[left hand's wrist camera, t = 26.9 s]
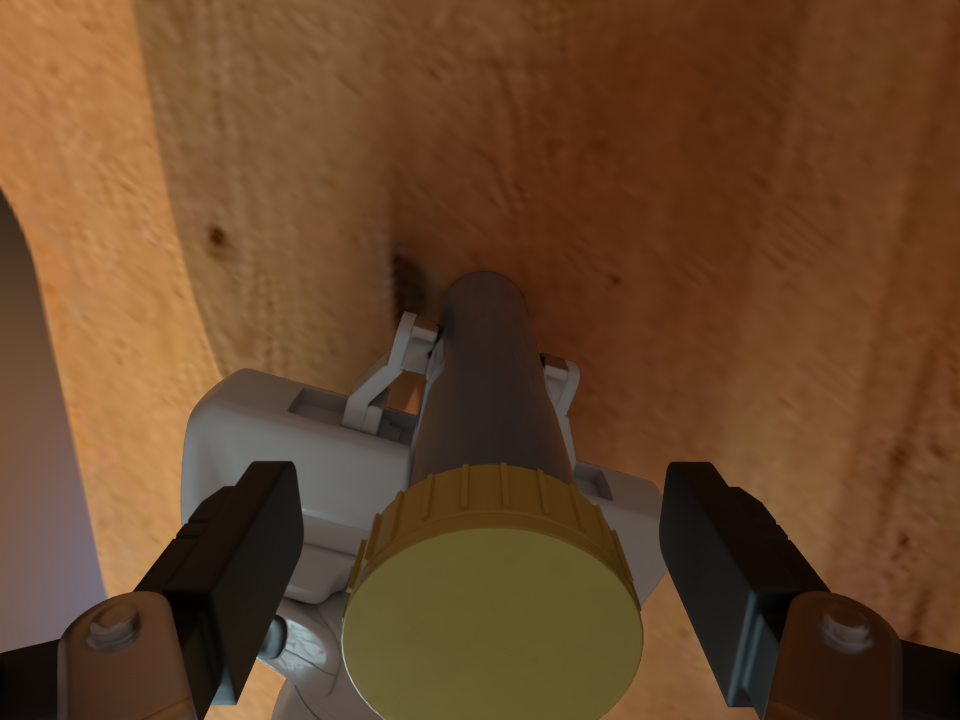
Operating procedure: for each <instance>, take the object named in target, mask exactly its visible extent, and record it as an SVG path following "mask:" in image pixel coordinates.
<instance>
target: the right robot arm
mask: <svg viewBox="0 0 960 720" xmlns="http://www.w3.org/2000/svg"><path fill="white" fill-rule="evenodd" d="M439 326H440V322H438V321H435V320H431V319H428V318H425V317H422V316H419V315H416V314H414V313H409V312H405V311H404V313H403V316H402V318H401V321H400V324H399V327H398V330H397V333H396V337H395V340H394V344H393V347H392V349H390V350H389V351H388V352H387V353H385V354H384V355H383V356H382V357H381V358H380V359H379V360H378V361H377V362H375V363H374V364H373V365H372V366H371V367H370V368H369V369H368V370H367V371H365V372H364V373H363V374H362V375H361V376H360V377H359V378H358V380H357V382H356V384H355V386H354V388H353V390H352V392H351V394H350V396H346V395H342V394H338V393H335V392H331V391H328V390H324V389H321V388H317V387H313V386H310V385H306V384H303V383H299V382H296V381H292V380H288V379H285V378H281V377H278V376H274V375H271V374H267V373H264V372H260V371H257V370H253V369H241V370H238V371H237V372H235V373H233V374H231V375H230V376H228V377H227V378H225V379H223V380H222V381H221V382H219V383H218V384H216V385H215V386H214V387H213V388H212V389H210V390H209V391H208V392H207V393H206V394H205V395H204V396H203V397H202V398H201V400H200V401H199V402H198V403H197V405H196V406H195V407H194V409H193V411H192V412H191V415H190V417H189V420H188V423H187V428H186V434H185V440H184V448H183V459H182V472H181V524H182V527H183V525H184V524H185V523H188V519H189V518H190V516H191V515H192V514H193V512H194V511H195V510H196V509H197V507H198V506H199V505H200V503H201V502H202V501H203V500H205V499H206V498H208V497H209V496H211V495H212V494H213V493H215V492H216V491H218V490H219V489H221V488H222V487H224V486H235V485H236V484H237V482H238V481H239V479H240V478H241V476H242V475H243V474H244V472H245V471H246V469H247V468H248V467H249V465H250V464H251V463H252V462H253V461H292V462H293V463H294V465H295V467H296V471H297V478H298V486H299V493H300V501H301V508H302V516H303V523H304V540H303V547H302V552H301V555H300V558H299V560H298V563H297V565H296V567H295V570H294V572H293V574H292V577H291V579H290V581H289V584H288V586H287V588H286V591H285V593H284V595H283V597H282V600H281V602H280V604H279V607H278V609H277V611H276V614H275V616H274V618H273V621H272V623H271V625H270V628H269V630H268V632H267V635H266V637H265V639H264V642H263V644H262V646H261V648H260V651H259V653H258V655H257V658H256V659H258V660H260V661H261V662H263V663H265V664H266V665H268V666H269V667H271V668H272V669H274V670H275V671H277V672H278V673H280V674H281V675H283V676H284V677H285V678H287V679H286V680H285V682H284V684H283V686H282V688H281V690H280V692H279V694H278V697H277V700H276V703H275V706H274V710H273V713H272V717H271V720H384V719H383V718H381V717H380V716H379V715H378V714H377V713H376V712H375V711H373V710H372V709H371V708H370V707H369V705H368V704H367V703H366V702H365V701H364V700H363V699H362V697H361V696H360V695H359V693H358V691H357V690H356V688H355V687H354V685H353V684H352V681H351V679H350V677H349V675H348V673H347V670H346V667H345V663H344V659H343V656H342V646H341V632H342V623H343V622H342V615H343V612H344V608H345V605H346V601H347V598H348V594H349V592H346V591H347V587H348V584H349V580H350V577H351V573H352V570H353V567H354V563H355V560H356V556H357V553H358V550H359V546H360V543H361V540H362V539H363V540H366V539H367V536H368V534H369V532H370V530H371V526H372V523H373V519H374V516H375V515H376V513H378V514H381V513H382V512H383V511H384V510H385V508H386V507H387V506H388V505H389V504H390V503H391V502H392V501H393V500H395V499H396V495H397V493H398V492H399V490H400V486H401V481H402V477H403V472H404V468H405V464H406V459H407V455H408V450H409V446H410V441H411V437H412V433H413V428H414V424H415V419H416V415H413V414H410V413H406V412H403V411H399V410H396V409H392V408H388V407H386V403H387V399H388V395H389V392H390V388H389V387H388V385H389V384H390V383H391V382H392V381H394V380H395V379H396V378H397V377H398V376H399V375H400V374H401V373H402V372H403V371H404V370H406V371H410V372H413V373H417V374H421V375H425V374H426V371H427V367H428V362H429V358H430V354H431V350H432V349H433V347H434V345H435V341H436V338H437V334H438V330H439ZM540 357H541V360H542V364H543V367H544V371H545V375H546V378H547V382H548V385H549V389H550V392H551V396H552V399H553V403H554V406H555V410H556V414H557V417H558V421H559V424H560V428H561V431H562V435H563V438H564V442H565V445H566V449H567V452H568V456H569V460H570V463H571V467H572V470H573V474H574V477H575V481H576V484H577V488H578V491H579V493H580V494H582V495H583V496H584V497H585V498H587V499H588V500H589V501H590V502H591V503H592V504H593V505H594V506H595V505H596V504H598V505H599V506H600V507H601V510H602V513H603V516H604V518H605V520H606V522H607V524H608V525H609V527H610V529H611V531H612V530H616V532H617V534H618V537H619V540H620V543H621V545H622V548H623V551H624V554H625V557H626V560H627V562H628V565H629V568H630V571H631V574H632V577H633V580H634V581H632V582H633V585H634V588H635V590H636V593H637V596H638V599H639V602H640V605H641V606H642V605H643V604H644V602H645V601H646V600H647V598H648V597H649V596H650V594H651V593H652V592H653V590H654V589H655V587H656V586H657V585H658V583H659V582H660V580H661V579H662V577H663V576H664V574H665V573H666V571H667V570H668V568H667V566H666V564H665V562H664V559H663V557H662V553H661V549H660V542H659V523H660V516H661V508H662V501H663V496H662V494H661V493H660V491H659V489H658V488H657V487H656V485H655V484H653V483H652V482H651V481H648V480H645V479H642V478H639V477H635V476H631V475H628V474H624V473H621V472H617V471H613V470H610V469H606V468H603V467H599V466H596V465H592V464H588V463H585V462H581V461H578V460H576V456H575V451H574V445H573V440H572V434H571V429H570V423H569V418H568V415H567V412H568V409H569V407H570V405H571V402H572V400H573V397H574V395H575V392H576V390H577V387H578V385H579V381H580V370H579V368H578V366H577V363H576V362H573V361H570V360H566V359H563V358H560V357H556V356H553V355H549V354H546V353H541V354H540Z"/></svg>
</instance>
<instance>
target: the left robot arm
mask: <svg viewBox="0 0 960 720" xmlns="http://www.w3.org/2000/svg"><path fill="white" fill-rule="evenodd" d="M303 540H304V523H303V516H302V508H301V501H300V493H299V486H298V478H297V471H296V467H295V465H294V463H293V462H292V461H253V462H252V463H251V464H250V465H249V467H248V468H247V469H246V471H245V472H244V474H243V475H242V476H241V478H240V479H239V481H238V482H237V484H236V485H235V486H224V487H222V488H221V489H219V490H218V491H216V492H215V493H213V494H212V495H211V496H209V497H208V498H206V499H205V500H203V501H202V502H201V503H200V505H199V506H198V507H197V509H196V510H195V511H194V512H193V514H192V515H191V516H190V518H189V519H188V523H185V524H184V525H183V527H182V528H181V529H180V531H179V532H178V533H177V535H176V539H173V540H172V541H171V542H170V544H169V545H168V546H167V548H166V549H165V550H164V551H163V553H162V554H161V555H160V557H159V558H158V559H157V561H156V562H155V563H154V564H153V566H152V567H151V568H150V570H149V571H148V572H147V574H146V575H145V576H144V577H143V579H142V580H141V581H140V583H139V584H138V585H137V587H136V588H135V589H134V590H133V592H130V593H125V594H121V595H118V596H115V597H112V598H110V599H107V600H105V601H103V602H101V603H99V604H97V605H95V606H93V607H92V608H90V609H88V610H87V611H86V612H84V613H83V614H81V615H80V616H79V617H78V618H77V619H76V620H74V621H73V622H72V623H71V625H70V626H69V627H68V628H67V629H66V630H65V632H64V633H63V635H62V637H61V639H57V640H54V641H49V642H45V643H41V644H37V645H33V646H28V647H24V648H20V649H16V650H12V651H8V652H3V653H0V720H204V718H205V715H206V713H207V711H208V709H209V707H210V705H236V704H237V702H238V699H239V697H240V695H241V692H242V690H243V688H244V686H245V683H246V681H247V679H248V676H249V674H250V672H251V669H252V667H253V665H254V662H255V660H256V658H257V655H258V653H259V651H260V648H261V646H262V644H263V642H264V639H265V637H266V635H267V632H268V630H269V628H270V625H271V623H272V621H273V618H274V616H275V614H276V611H277V609H278V607H279V604H280V602H281V600H282V597H283V595H284V593H285V591H286V588H287V586H288V584H289V581H290V579H291V577H292V574H293V572H294V570H295V567H296V565H297V563H298V560H299V558H300V555H301V552H302V547H303ZM659 542H660V549H661V553H662V557H663V559H664V562H665V564H666V566H667V568H668V571H669V573H670V575H671V578H672V580H673V582H674V584H675V587H676V589H677V591H678V594H679V596H680V598H681V600H682V603H683V605H684V607H685V610H686V612H687V614H688V617H689V619H690V621H691V623H692V626H693V628H694V630H695V633H696V635H697V637H698V639H699V642H700V644H701V646H702V649H703V651H704V653H705V655H706V658H707V660H708V662H709V665H710V667H711V669H712V671H713V674H714V676H715V678H716V681H717V683H718V685H719V687H720V690H721V692H722V694H723V697H724V699H725V701H726V703H727V706H728V707H754V708H755V710H756V712H757V714H758V716H759V718H760V720H960V654H958V653H954V652H949V651H945V650H941V649H937V648H933V647H928V646H924V645H920V644H916V643H912V642H908V641H904V640H901V639H899V637H898V635H897V633H896V632H895V630H894V629H893V628H892V627H891V626H890V624H889V623H888V622H887V621H886V620H884V619H883V618H882V617H881V616H880V615H879V614H877V613H876V612H875V611H873V610H872V609H870V608H868V607H867V606H865V605H863V604H861V603H859V602H857V601H855V600H853V599H850V598H848V597H845V596H842V595H839V594H835V593H831V591H830V590H829V589H828V587H827V586H826V585H825V584H824V582H823V581H822V580H821V578H820V577H819V576H818V574H817V573H816V572H815V571H814V569H813V568H812V567H811V565H810V564H809V563H808V562H807V560H806V559H805V558H804V556H803V555H802V554H801V553H800V551H799V550H798V549H797V547H796V546H795V545H794V544H793V542H792V541H791V540H788V536H787V535H786V533H785V532H784V531H783V529H782V528H781V527H780V526H779V525H776V520H775V519H774V518H773V517H772V515H771V514H770V513H769V511H768V510H767V509H766V508H765V506H764V505H763V504H762V502H760V501H759V500H757V499H756V498H754V497H753V496H751V495H750V494H748V493H747V492H746V491H744V490H743V489H741V488H740V487H728V485H727V484H726V482H725V481H724V480H723V478H722V477H721V475H720V474H719V473H718V471H717V470H716V468H715V467H714V466H713V465H712V463H710V462H671V463H670V464H669V466H668V468H667V472H666V479H665V486H664V494H663V501H662V508H661V516H660V523H659Z"/></svg>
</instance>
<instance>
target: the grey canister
mask: <svg viewBox="0 0 960 720" xmlns="http://www.w3.org/2000/svg"><path fill="white" fill-rule="evenodd" d="M438 322H440V326H439V330H438V334H437V338H436V341H435V345H434V347H433V349H432V350H431V354H430V358H429V362H428V367H427V371H426V375H425V380H424V384H423V389H422V393H421V397H420V402H419V406H418V411H417V415H416V419H415V424H414V428H413V433H412V437H411V441H410V446H409V450H408V455H407V459H406V464H405V468H404V472H403V477H402V481H401V486H400V490H401V491H402V492H404V491H406V490H407V489H409V488H410V487H412V486H413V485H415V484H417V483H418V482H420V481H423V480H425V479H427V475H429V474H431V473H432V474H433V475H436V474H439V473H442V472H445V471H448V470H451V469H456V468H461V467H463V465H464V464H469V466H474V465H484V464H490V465H500V464H501V462H502V463H507V465H509V466H517V467H523V468H527V469H531V470H535V471H537V470H538V469H540V470H543V473H544V474H546V475H549V476H552V477H554V478H556V479H558V480H560V481H562V482H564V483H565V484H567V485H570V484H571V483H572V484H573V485H575V486H576V490H577V491H578V488H577V484H576V481H575V477H574V474H573V470H572V467H571V463H570V460H569V456H568V452H567V449H566V445H565V442H564V438H563V435H562V431H561V428H560V424H559V421H558V417H557V414H556V410H555V406H554V403H553V399H552V396H551V392H550V389H549V385H548V382H547V378H546V375H545V371H544V367H543V364H542V360H541V357H540V353H539V350H538V346H537V343H536V339H535V336H534V332H533V328H532V325H531V321H530V318H529V314H528V311H527V307H526V304H525V300H524V298H523V295H522V293H521V292H520V290H519V289H518V287H517V286H516V285H515V284H514V283H513V282H512V281H510V280H509V279H508V278H506V277H504V276H502V275H500V274H497V273H494V272H487V271H481V272H474V273H470V274H467V275H465V276H463V277H461V278H460V279H458V280H457V281H456V282H454V283H453V284H452V285H451V287H450V288H449V289H448V290H447V292H446V294H445V296H444V298H443V301H442V305H441V309H440V314H439V318H438ZM400 490H399V491H400ZM578 492H579V491H578Z"/></svg>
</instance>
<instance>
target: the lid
mask: <svg viewBox="0 0 960 720" xmlns="http://www.w3.org/2000/svg"><path fill="white" fill-rule="evenodd" d="M632 581H634V580H633V577H632V574H631V571H630V568H629V565H628V562H627V560H626V557H625V554H624V551H623V548H622V545H621V543H620V540H619V537H618V534H617V532H616V530H612V531H611V529H610V527H609V525H608V524H607V522H606V520H605V518H604V516H603V513H602V510H601V507H600V506H599V505H598V504H596V505H595V506H594V505H593V504H592V503H591V502H590V501H589V500H588V499H587V498H585V497H584V496H583V495H582V494H580V493H579V492H578V491H577V490H576V486H575V485H573V484H572V483H571V484H570V485H567V484H565V483H564V482H562V481H560V480H558V479H556V478H554V477H552V476H549V475H546V474H544V473H543V470H540V469H538V470H537V471H535V470H531V469H527V468H523V467H517V466H509V465H507V463H502V462H501V464H500V465H490V464H484V465H474V466H469V464H464V465H463V467H461V468H456V469H451V470H448V471H445V472H442V473H439V474H436V475H433V474H432V473H431V474H429V475H427V479H425V480H423V481H420V482H418V483H417V484H415V485H413V486H412V487H410V488H409V489H407V490H406V491H404V492H402V491H401V490H400V491H399V492H398V493H397V495H396V499H395V500H393V501H392V502H391V503H390V504H389V505H388V506H387V507H386V508H385V510H384V511H383V512H382V513H381V514H378V513H376V515H375V516H374V519H373V523H372V526H371V530H370V532H369V534H368V536H367V539H366V540H363V539H362V540H361V543H360V546H359V550H358V553H357V556H356V560H355V563H354V567H353V570H352V573H351V577H350V580H349V584H348V587H347V591H346V592H349V594H348V598H347V601H346V605H345V608H344V612H343V615H342V622H343V623H342V632H341V646H342V656H343V659H344V663H345V667H346V670H347V673H348V675H349V677H350V679H351V681H352V684H353V685H354V687H355V688H356V690H357V691H358V693H359V695H360V696H361V697H362V699H363V700H364V701H365V702H366V703H367V704H368V705H369V707H370V708H371V709H372V710H373V711H375V712H376V713H377V714H378V715H379V716H380V717H381V718H383V719H384V720H599V719H600V718H601V717H602V716H604V715H605V714H606V713H607V712H608V711H609V710H610V709H611V708H612V707H613V706H614V705H615V704H616V703H617V702H618V701H619V700H620V699H621V697H622V696H623V695H624V693H625V692H626V691H627V689H628V688H629V686H630V684H631V682H632V680H633V679H634V677H635V675H636V672H637V669H638V666H639V663H640V660H641V655H642V649H643V625H642V620H641V614H640V611H641V605H640V602H639V599H638V596H637V593H636V590H635V588H634V585H633V582H632Z"/></svg>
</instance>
